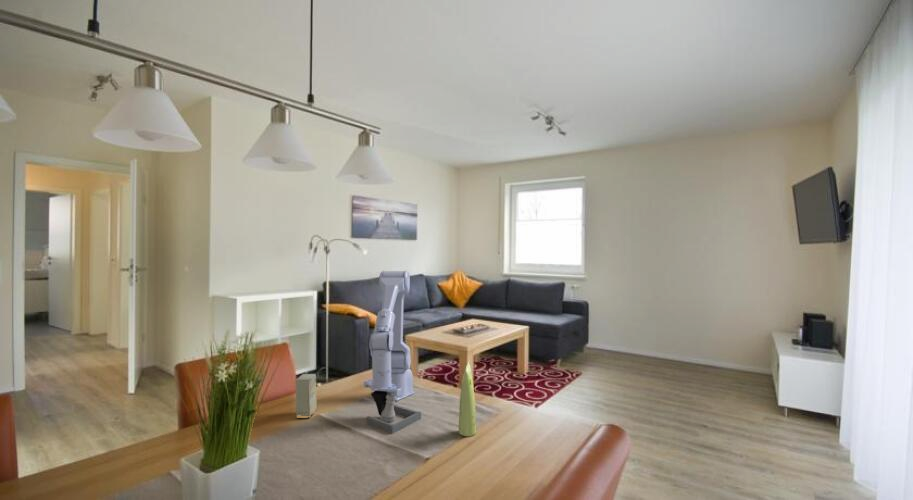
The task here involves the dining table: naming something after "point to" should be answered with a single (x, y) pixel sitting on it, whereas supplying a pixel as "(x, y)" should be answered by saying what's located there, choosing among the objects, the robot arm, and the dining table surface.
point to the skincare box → (306, 394)
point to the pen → (393, 428)
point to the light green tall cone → (467, 405)
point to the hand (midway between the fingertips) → (382, 414)
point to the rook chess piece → (389, 408)
